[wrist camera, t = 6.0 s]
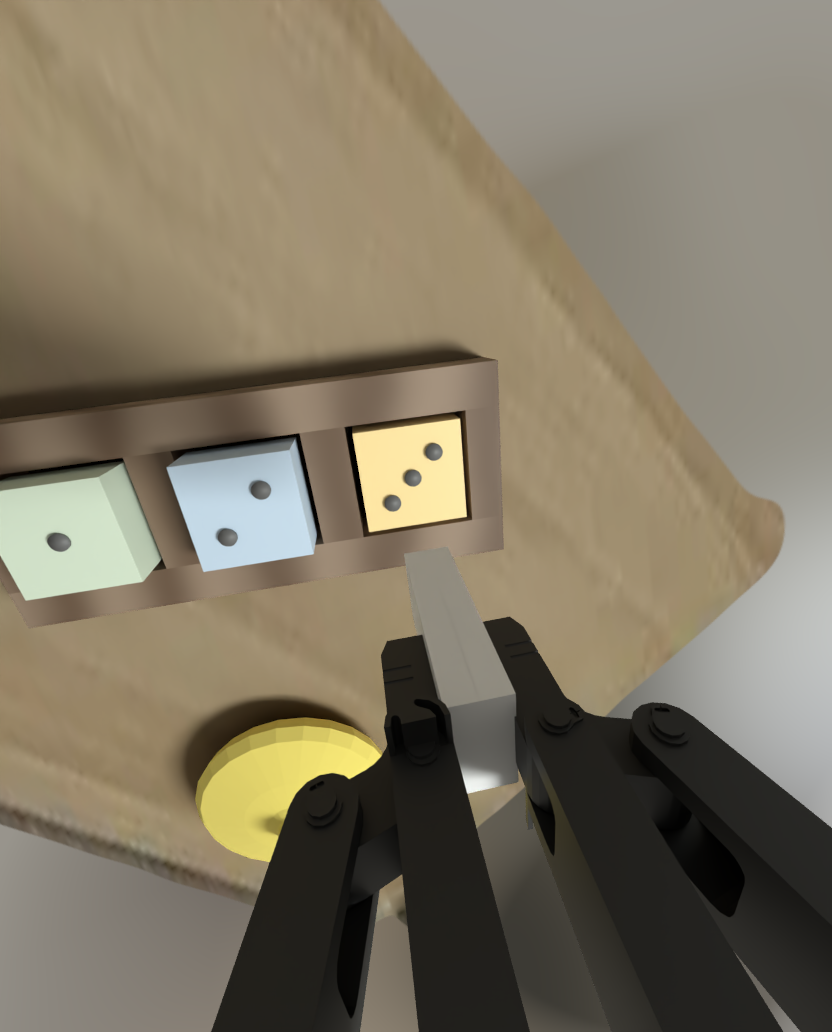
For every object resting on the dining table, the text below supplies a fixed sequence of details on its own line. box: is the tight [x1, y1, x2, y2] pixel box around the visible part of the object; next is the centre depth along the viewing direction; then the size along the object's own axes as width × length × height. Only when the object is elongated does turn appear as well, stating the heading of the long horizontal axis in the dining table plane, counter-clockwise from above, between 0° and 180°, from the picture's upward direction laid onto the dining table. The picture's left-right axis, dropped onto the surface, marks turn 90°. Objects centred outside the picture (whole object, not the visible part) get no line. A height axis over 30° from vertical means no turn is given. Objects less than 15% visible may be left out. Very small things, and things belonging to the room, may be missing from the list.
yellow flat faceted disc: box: [195, 717, 383, 862], centre depth 35 cm, size 16×16×7 cm
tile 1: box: [0, 461, 162, 601], centre depth 24 cm, size 6×6×3 cm
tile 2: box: [166, 437, 317, 572], centre depth 25 cm, size 6×6×3 cm
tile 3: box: [352, 412, 467, 532], centre depth 27 cm, size 6×6×3 cm
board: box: [0, 357, 504, 628], centre depth 27 cm, size 30×12×3 cm, turn 96°
